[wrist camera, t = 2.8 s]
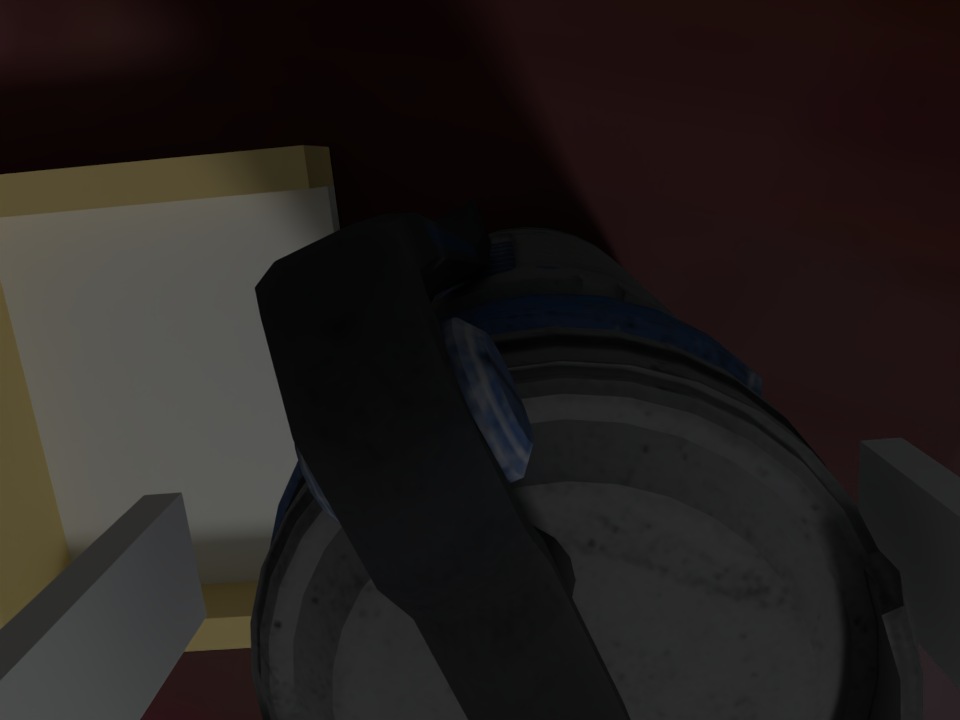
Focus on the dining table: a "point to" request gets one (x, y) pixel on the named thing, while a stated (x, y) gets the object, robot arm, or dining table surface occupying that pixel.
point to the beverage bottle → (547, 502)
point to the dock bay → (148, 361)
